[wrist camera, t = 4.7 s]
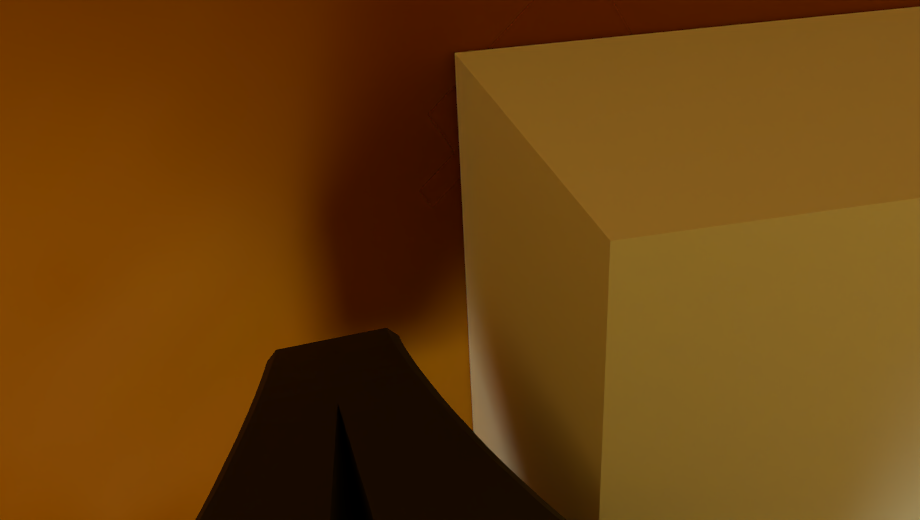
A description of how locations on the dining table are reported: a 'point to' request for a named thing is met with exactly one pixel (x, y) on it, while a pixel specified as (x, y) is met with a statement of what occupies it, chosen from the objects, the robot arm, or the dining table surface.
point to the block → (699, 268)
